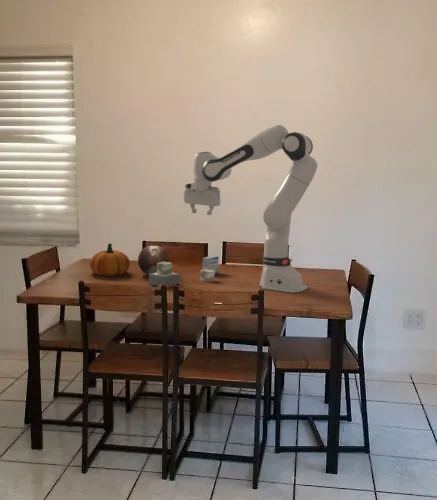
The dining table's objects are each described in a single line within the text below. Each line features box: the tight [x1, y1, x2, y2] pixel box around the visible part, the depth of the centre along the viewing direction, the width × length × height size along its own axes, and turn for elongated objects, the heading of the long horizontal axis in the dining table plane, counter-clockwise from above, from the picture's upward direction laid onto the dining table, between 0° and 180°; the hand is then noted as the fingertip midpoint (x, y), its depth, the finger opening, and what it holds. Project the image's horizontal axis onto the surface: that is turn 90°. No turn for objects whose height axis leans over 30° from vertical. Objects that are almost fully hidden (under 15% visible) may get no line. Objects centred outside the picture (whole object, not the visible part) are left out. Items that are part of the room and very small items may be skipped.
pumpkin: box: [89, 243, 131, 277], centre depth 304 cm, size 19×19×15 cm
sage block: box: [157, 261, 173, 275], centre depth 284 cm, size 5×5×5 cm
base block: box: [148, 271, 180, 287], centre depth 285 cm, size 10×10×5 cm
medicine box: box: [201, 255, 220, 275], centre depth 310 cm, size 8×4×9 cm, turn 143°
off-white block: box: [199, 269, 216, 283], centre depth 295 cm, size 5×5×5 cm
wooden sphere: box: [137, 244, 169, 276], centre depth 303 cm, size 15×15×15 cm
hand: (201, 214), depth 299 cm, fingers open, 8 cm apart
